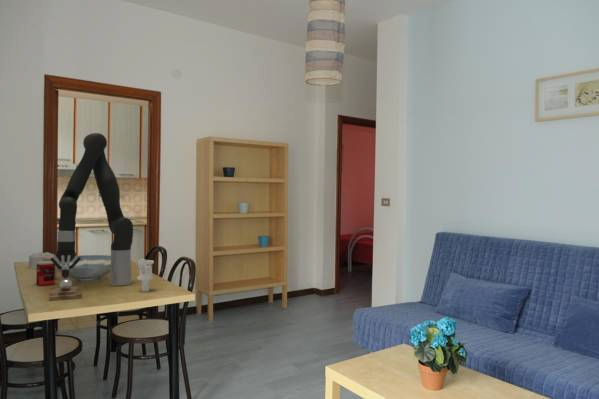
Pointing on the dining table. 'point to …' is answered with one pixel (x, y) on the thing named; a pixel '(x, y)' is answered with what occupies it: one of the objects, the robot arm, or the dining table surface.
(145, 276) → the white tall piece
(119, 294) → the dining table surface
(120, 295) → the dining table surface
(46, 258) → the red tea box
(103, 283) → the dining table surface
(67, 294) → the wooden cutting board
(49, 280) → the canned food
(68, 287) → the ball
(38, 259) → the lumpy-topped squat cylinder
